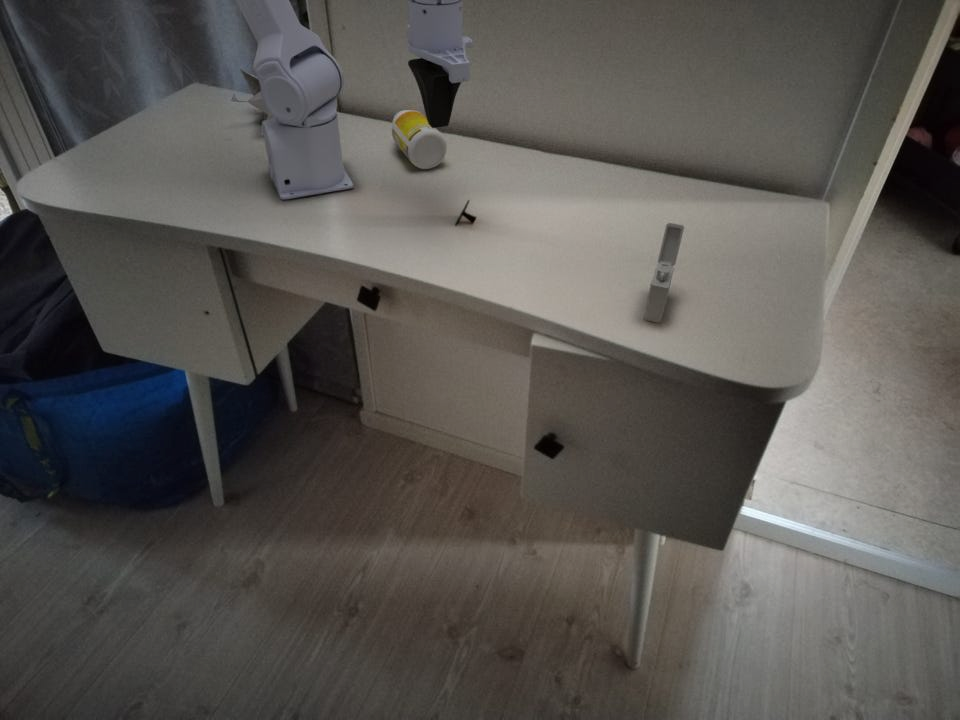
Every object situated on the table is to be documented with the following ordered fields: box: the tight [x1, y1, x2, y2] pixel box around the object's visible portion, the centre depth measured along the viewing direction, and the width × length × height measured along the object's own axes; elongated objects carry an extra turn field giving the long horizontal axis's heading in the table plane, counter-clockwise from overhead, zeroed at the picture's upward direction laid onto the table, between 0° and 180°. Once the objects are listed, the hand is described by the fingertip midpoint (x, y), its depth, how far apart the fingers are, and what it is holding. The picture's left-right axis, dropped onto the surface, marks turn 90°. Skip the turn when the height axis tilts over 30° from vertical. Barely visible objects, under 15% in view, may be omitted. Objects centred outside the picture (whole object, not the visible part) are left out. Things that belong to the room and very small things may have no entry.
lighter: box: [643, 222, 685, 324], centre depth 71 cm, size 7×2×8 cm, turn 160°
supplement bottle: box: [391, 109, 447, 170], centre depth 98 cm, size 6×6×10 cm
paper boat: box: [230, 69, 274, 137], centre depth 107 cm, size 12×6×9 cm
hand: (438, 125), depth 83 cm, fingers closed
